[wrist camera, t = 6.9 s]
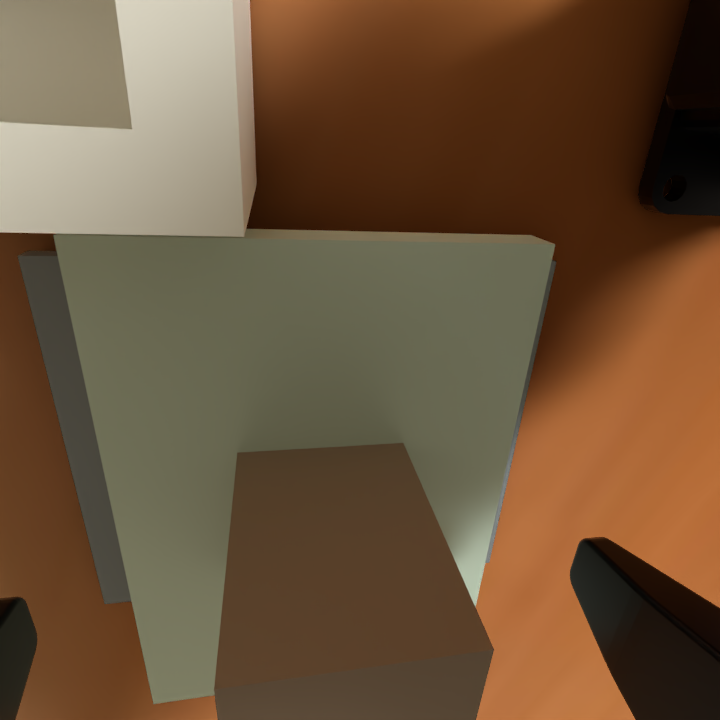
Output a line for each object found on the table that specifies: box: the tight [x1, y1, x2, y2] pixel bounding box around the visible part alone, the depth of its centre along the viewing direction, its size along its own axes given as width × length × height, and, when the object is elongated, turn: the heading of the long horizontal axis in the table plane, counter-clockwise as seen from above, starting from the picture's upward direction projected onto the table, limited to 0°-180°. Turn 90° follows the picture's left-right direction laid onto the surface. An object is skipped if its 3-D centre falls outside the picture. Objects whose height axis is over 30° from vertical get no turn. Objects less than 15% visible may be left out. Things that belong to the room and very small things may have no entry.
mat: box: [18, 251, 556, 604], centre depth 11 cm, size 10×8×1 cm
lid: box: [53, 229, 555, 720], centre depth 8 cm, size 10×7×6 cm
